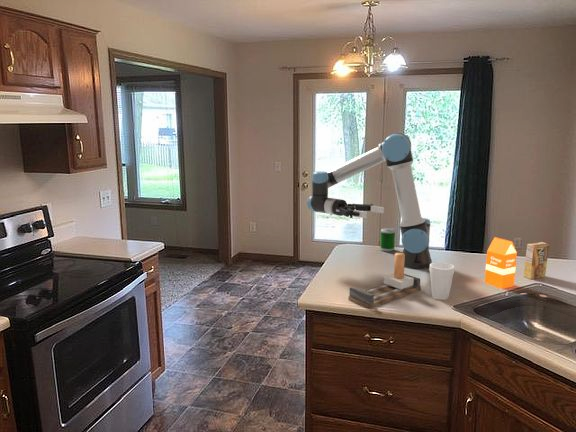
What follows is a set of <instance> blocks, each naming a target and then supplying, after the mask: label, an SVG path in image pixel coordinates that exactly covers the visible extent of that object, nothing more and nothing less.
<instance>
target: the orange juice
mask: <svg viewBox="0 0 576 432" xmlns="http://www.w3.org/2000/svg"><path fill="white" fill-rule="evenodd" d="M517 255H518V252H517V249H516V248H515V245H514V243H513V241H512V240H508V239H505V238H501V237H496V236H493V239H492V241H491V243H490V245H489V246H488V249H487V251H486V259H485V260H486V261H485V262H486V263H485V275H484V283H485V284H487V285H490V286H492V287H496V288H499V289H502V290H503V289H507V288H510V287H514V286H515V276H516V268H517V267H516V266H517Z"/></svg>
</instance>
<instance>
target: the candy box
mask: <svg viewBox="0 0 576 432" xmlns="http://www.w3.org/2000/svg"><path fill="white" fill-rule="evenodd" d="M549 248H550V244H549V243H547V242H543V241H540V242H533V243H526V252H525V260H524V261H525V262H524V268H523V269H524V270H523V277H524V278H527V279H529V280H533V279H539V278H545V277H546V273H547V271H546V270H547V264H548V257H549Z"/></svg>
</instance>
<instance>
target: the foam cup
mask: <svg viewBox="0 0 576 432" xmlns="http://www.w3.org/2000/svg"><path fill="white" fill-rule="evenodd" d="M455 267H456V266H455V265H454V264H452V263H449V262H442V261H439V262H438V261H436V262H434V261H433V262H432V263H431V264H430V267H428V269H429V275H430V279H429V280H430V289H431V297H432V298H433V299H436V300H443V301H444V300H448V299H449V296H450V292H451V287H452V282H453V278H454V274H455Z"/></svg>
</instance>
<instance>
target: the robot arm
mask: <svg viewBox="0 0 576 432" xmlns="http://www.w3.org/2000/svg"><path fill="white" fill-rule="evenodd" d="M384 162H385V163H386V167H387V168H388V169H390V171H391V176H392V178H393V179H392V180H393V184H394V188H395V194H396V197H397V201H398V207H399V213H400V218H401V222H400V223H399V229H400V234H401V244H402V247H403V250H402V252H401V253H404V254H405V261H404V268H405V267H406V268H410V269H427V268H428V269H429V268H430V264H431V263H433V260H432V256H431V253H430V234H431V233H430V230H431V229H430V228H431V220H430V219H429V218H426V217H425V218H424V217H422V215H421V210H420V204H419V199H418V196H417V190H416V186H415V180H414V177H413V176H414V175H413V171H412V164H413V162H414V158H413V153H412V141H411V139H410V138H409V136H408V135H406V134H405V133H401V132H396V133H393V134H390V135H388V136H387V137H386V138H384V141H382V142H379V144H378V146H377V147H375V148H373V149H370V150H368V151H367V152H364V153H362V154H360V155H358V156H357V157H354V158H352V159H350V160H348V161H346V162H344V163H342V164H340V165H338V166H337V167H334V168H332V169H330V170H328V171H314V172H312V176H311V177H312V178H311V185H312V187H311V188H312V189H311V191H312V195H311V196H309V197H308V198H307V202H306V207H307V208H308V210H309V211H312V212H315V213H320V214H321V213H324V214H327V215H328V214H329V215H330V216H333V215H334V216H341V217H342V216H344V217H346V218H349V219H353V217H356V218H362V219H367V218H368V212H371V213H377V214H385V207H384V206H377V205H374V204H373V203H370V204H367V203H366V204H363V203H361V204H360V203H347V201H346V200H345V199H342V198H341V199H340V198H334V197H329V188H331V187H333V186H335V185H337V184H340V183H341V182H343V181H345V180H347V179H350V178H352V177H354V176H355V175H358V174H361V173H362V172H365V171H367V170H368V169H371V168H373V167H375V166H377V165H379V164H381V163H384Z"/></svg>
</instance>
